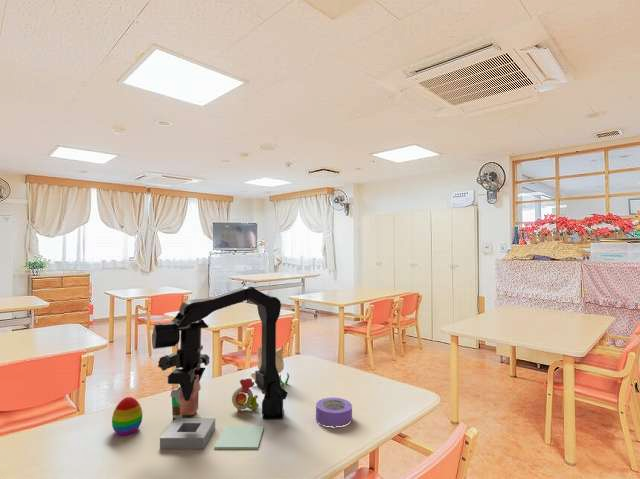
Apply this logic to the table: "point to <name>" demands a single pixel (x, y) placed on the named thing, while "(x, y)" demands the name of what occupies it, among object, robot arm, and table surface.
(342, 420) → the tape roll
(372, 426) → the table surface
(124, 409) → the decorative egg
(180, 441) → the pocket block
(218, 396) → the table surface
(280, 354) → the kitten
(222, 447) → the board
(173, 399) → the food container
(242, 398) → the bird rattle
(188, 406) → the peg
